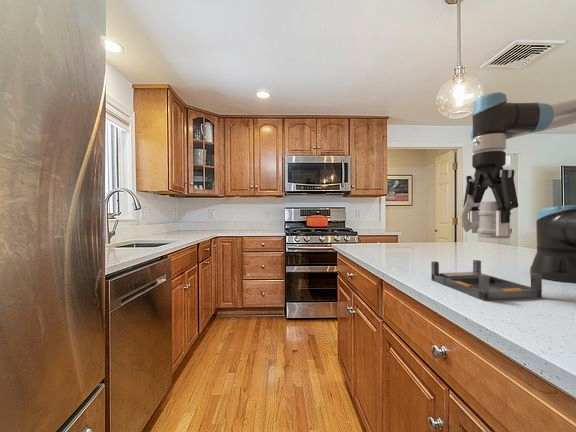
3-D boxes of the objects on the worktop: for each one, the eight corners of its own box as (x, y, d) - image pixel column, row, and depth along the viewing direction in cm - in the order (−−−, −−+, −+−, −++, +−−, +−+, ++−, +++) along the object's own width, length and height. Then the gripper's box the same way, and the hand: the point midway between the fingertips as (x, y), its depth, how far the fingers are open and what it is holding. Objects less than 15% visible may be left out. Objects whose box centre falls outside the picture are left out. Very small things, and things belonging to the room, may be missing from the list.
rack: (477, 278, 92) (477, 260, 92) (541, 297, 71) (542, 274, 71) (431, 280, 90) (431, 261, 90) (483, 300, 69) (483, 276, 69)
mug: (511, 239, 72) (512, 192, 72) (458, 236, 79) (458, 194, 79) (511, 237, 78) (512, 194, 78) (461, 234, 85) (462, 195, 85)
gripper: (449, 159, 87) (449, 231, 88) (510, 142, 66) (509, 237, 67) (472, 159, 88) (471, 231, 88) (539, 143, 67) (537, 237, 67)
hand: (487, 234), depth 78 cm, fingers closed on mug, 9 cm apart
